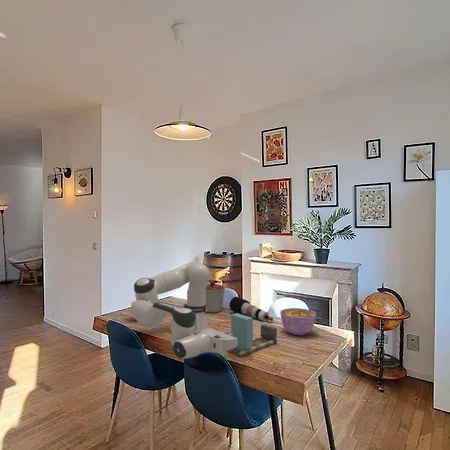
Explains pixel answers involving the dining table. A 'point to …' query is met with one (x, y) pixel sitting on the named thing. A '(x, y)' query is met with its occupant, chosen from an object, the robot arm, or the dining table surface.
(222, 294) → the canister
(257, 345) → the rail
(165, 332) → the dining table surface
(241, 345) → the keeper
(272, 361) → the dining table surface
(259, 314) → the cable
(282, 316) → the bowl of food
